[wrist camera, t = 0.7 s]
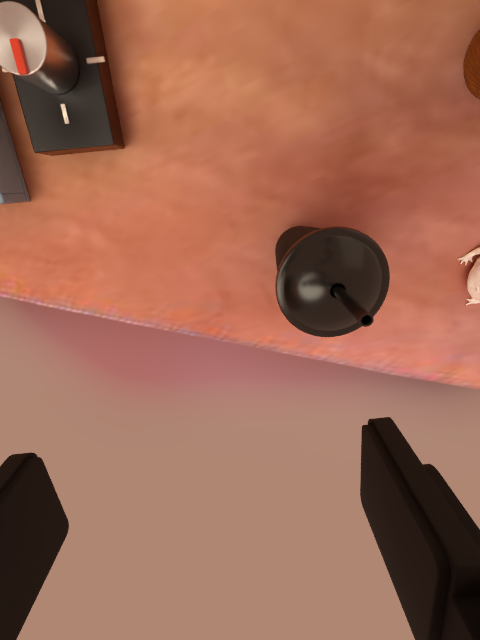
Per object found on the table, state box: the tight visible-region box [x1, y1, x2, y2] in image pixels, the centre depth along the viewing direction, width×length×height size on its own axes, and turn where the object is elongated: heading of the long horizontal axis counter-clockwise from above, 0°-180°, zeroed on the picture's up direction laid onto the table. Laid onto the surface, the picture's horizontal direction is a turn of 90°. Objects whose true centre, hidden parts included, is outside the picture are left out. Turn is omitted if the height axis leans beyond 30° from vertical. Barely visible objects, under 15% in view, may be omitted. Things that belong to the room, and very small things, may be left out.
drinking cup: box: [275, 226, 390, 337], centre depth 26 cm, size 8×8×20 cm
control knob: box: [0, 1, 79, 94], centre depth 25 cm, size 4×4×5 cm
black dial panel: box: [0, 0, 124, 156], centre depth 28 cm, size 12×8×3 cm
